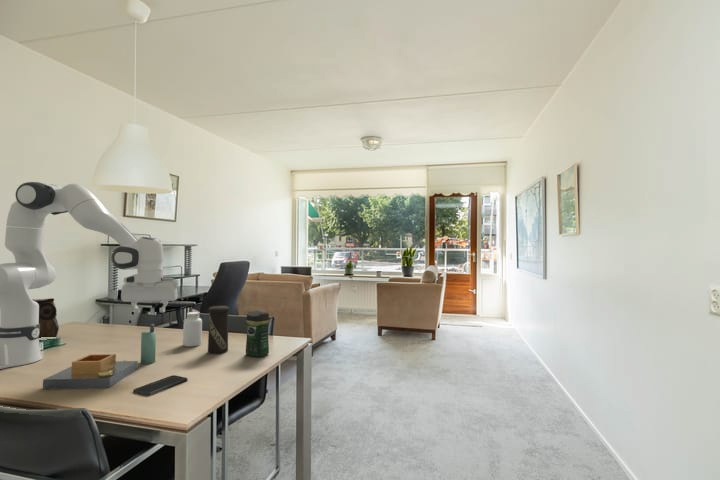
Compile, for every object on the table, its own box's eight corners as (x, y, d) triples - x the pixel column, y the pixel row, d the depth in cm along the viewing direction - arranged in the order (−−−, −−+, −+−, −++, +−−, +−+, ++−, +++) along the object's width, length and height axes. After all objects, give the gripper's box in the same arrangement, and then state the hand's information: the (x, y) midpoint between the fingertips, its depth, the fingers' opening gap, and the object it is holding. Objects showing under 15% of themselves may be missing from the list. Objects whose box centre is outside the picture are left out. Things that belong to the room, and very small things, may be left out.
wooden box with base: (42, 389, 115) (43, 367, 115) (80, 370, 133) (80, 351, 133) (109, 387, 117) (110, 365, 117) (137, 369, 135) (138, 350, 135)
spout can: (138, 364, 140) (139, 325, 140) (144, 360, 145) (145, 323, 145) (151, 364, 141) (152, 325, 141) (157, 360, 146) (158, 323, 146)
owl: (59, 338, 177) (60, 298, 178) (24, 343, 168) (26, 300, 168) (53, 334, 185) (55, 295, 186) (20, 339, 176) (21, 298, 176)
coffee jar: (272, 354, 156) (272, 311, 157) (258, 358, 149) (259, 313, 150) (256, 350, 161) (257, 309, 162) (242, 355, 154) (243, 311, 155)
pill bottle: (194, 347, 165) (195, 314, 165) (178, 346, 166) (179, 313, 167) (205, 343, 173) (205, 311, 173) (190, 342, 174) (191, 310, 175)
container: (202, 353, 156) (203, 307, 156) (215, 347, 165) (216, 304, 165) (220, 355, 154) (221, 308, 154) (232, 349, 163) (233, 304, 163)
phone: (189, 378, 124) (148, 394, 110) (189, 381, 124) (147, 397, 110) (173, 374, 127) (131, 389, 113) (173, 378, 127) (131, 393, 113)
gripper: (180, 276, 148) (180, 310, 148) (127, 277, 146) (127, 311, 145) (174, 278, 142) (173, 313, 141) (119, 278, 139) (118, 314, 139)
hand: (149, 312), depth 143 cm, fingers open, 8 cm apart
